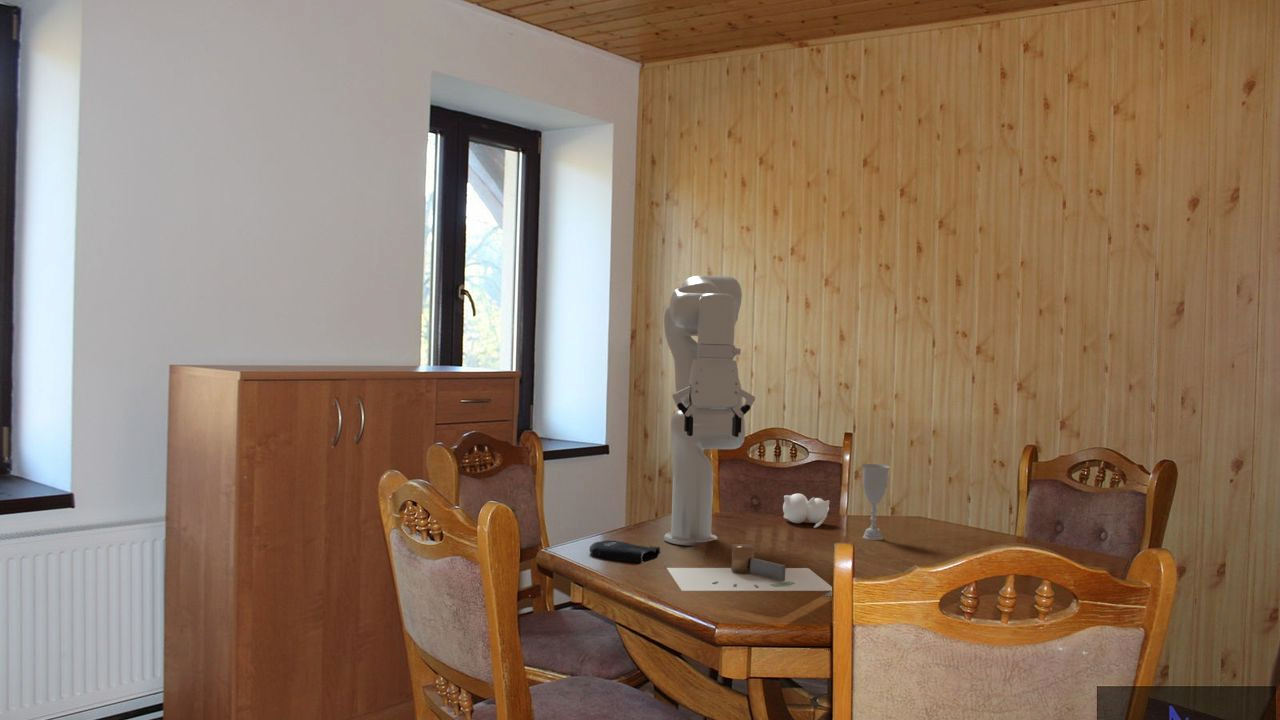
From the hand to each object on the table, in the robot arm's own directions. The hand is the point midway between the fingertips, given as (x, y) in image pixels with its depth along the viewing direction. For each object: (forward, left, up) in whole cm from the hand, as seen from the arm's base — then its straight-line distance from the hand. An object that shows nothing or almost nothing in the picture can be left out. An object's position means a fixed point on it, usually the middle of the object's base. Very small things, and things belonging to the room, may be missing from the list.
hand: (712, 435), depth 208 cm
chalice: (-35, +49, -28) cm, 67 cm away
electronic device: (-14, -16, -29) cm, 36 cm away
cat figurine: (-52, +37, -29) cm, 70 cm away
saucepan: (+9, +8, -27) cm, 29 cm away
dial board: (+11, +6, -28) cm, 31 cm away
